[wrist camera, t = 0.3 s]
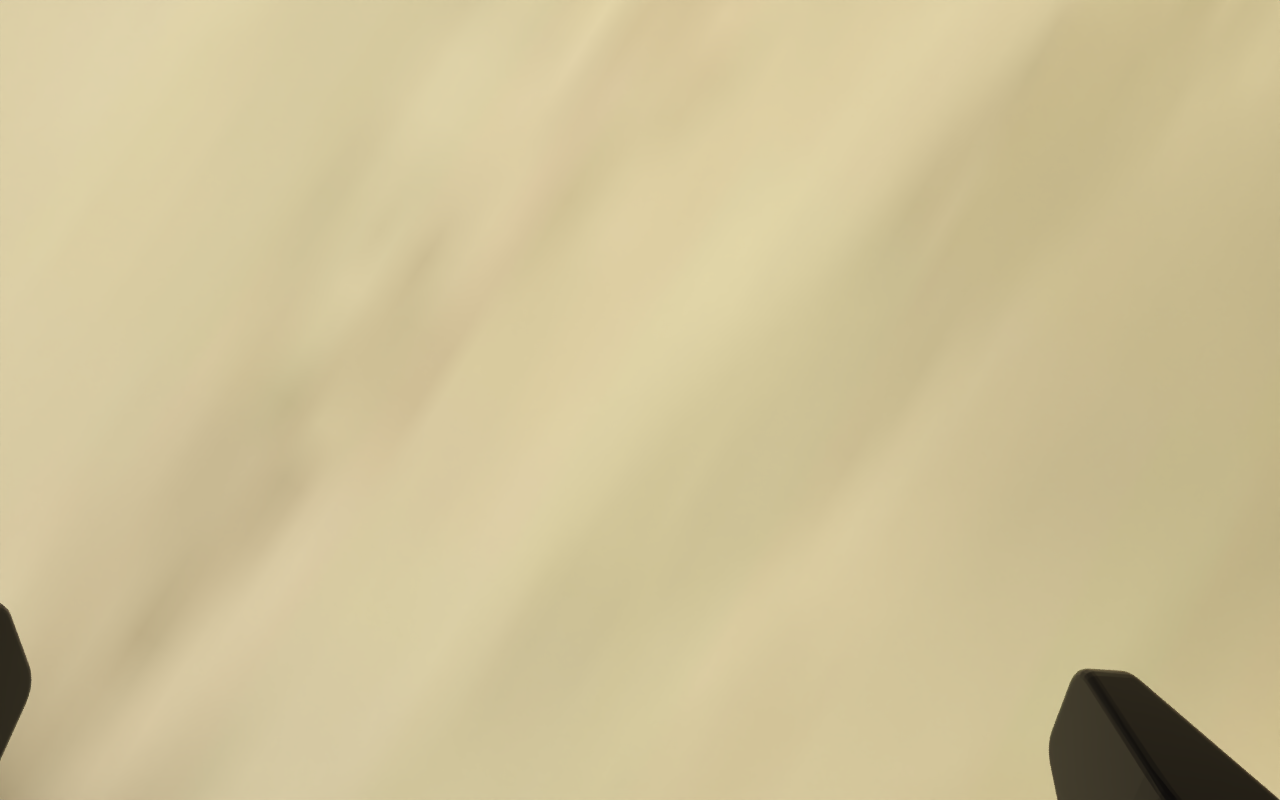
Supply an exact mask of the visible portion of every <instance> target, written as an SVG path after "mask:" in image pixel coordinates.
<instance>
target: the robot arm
mask: <svg viewBox="0 0 1280 800" xmlns="http://www.w3.org/2000/svg"><path fill="white" fill-rule="evenodd" d="M30 688H31V670H30V666H29V664H28V661H27V658H26V655H25V653H24V650H23V647H22V644H21V642H20V639H19V636H18V633H17V631H16V628H15V625H14V622H13V620H12V617H11V614H10V612H9V611H8V609H7V608H6V607H5V606H3V605H2V604H1V603H0V760H1V757H2V755H3V753H4V751H5V748H6V746H7V744H8V742H9V740H10V737H11V735H12V733H13V731H14V729H15V726H16V724H17V722H18V720H19V717H20V715H21V713H22V711H23V709H24V706H25V704H26V702H27V699H28V696H29V692H30ZM1049 759H1050V766H1051V771H1052V775H1053V780H1054V785H1055V790H1056V795H1057V800H1279V799H1278V798H1277V797H1276V796H1275V795H1274V794H1272V793H1271V792H1270V791H1269V790H1268V789H1267V788H1265V787H1264V786H1263V785H1262V784H1261V783H1260V782H1258V781H1257V780H1256V779H1255V778H1254V777H1253V776H1251V775H1250V774H1249V773H1248V772H1247V771H1246V770H1244V769H1243V768H1242V767H1241V766H1240V765H1239V764H1237V763H1236V762H1235V761H1234V760H1233V759H1232V758H1230V757H1229V756H1228V755H1227V754H1226V753H1225V752H1223V751H1222V750H1221V749H1220V748H1219V747H1218V746H1216V745H1215V744H1214V743H1213V742H1212V741H1211V740H1209V739H1208V738H1207V737H1206V736H1205V735H1204V734H1202V733H1201V732H1200V731H1199V730H1198V729H1197V728H1195V727H1194V726H1193V725H1192V724H1191V723H1190V722H1188V721H1187V720H1186V719H1185V718H1184V717H1183V716H1181V715H1180V714H1179V713H1178V712H1177V711H1176V710H1174V709H1173V708H1172V707H1171V706H1170V705H1169V704H1167V703H1166V702H1165V701H1164V700H1163V699H1162V698H1160V697H1159V696H1158V695H1157V694H1156V693H1155V692H1153V691H1152V690H1151V689H1150V688H1149V687H1148V686H1146V685H1145V684H1144V683H1143V682H1142V681H1141V680H1139V679H1138V678H1137V677H1135V676H1134V675H1132V674H1130V673H1128V672H1124V671H1116V670H1100V669H1083V670H1080V671H1078V672H1077V673H1076V674H1075V675H1074V676H1073V678H1072V680H1071V682H1070V684H1069V687H1068V690H1067V692H1066V695H1065V698H1064V700H1063V703H1062V706H1061V708H1060V711H1059V713H1058V716H1057V719H1056V721H1055V724H1054V727H1053V729H1052V732H1051V736H1050V742H1049Z"/></svg>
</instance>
